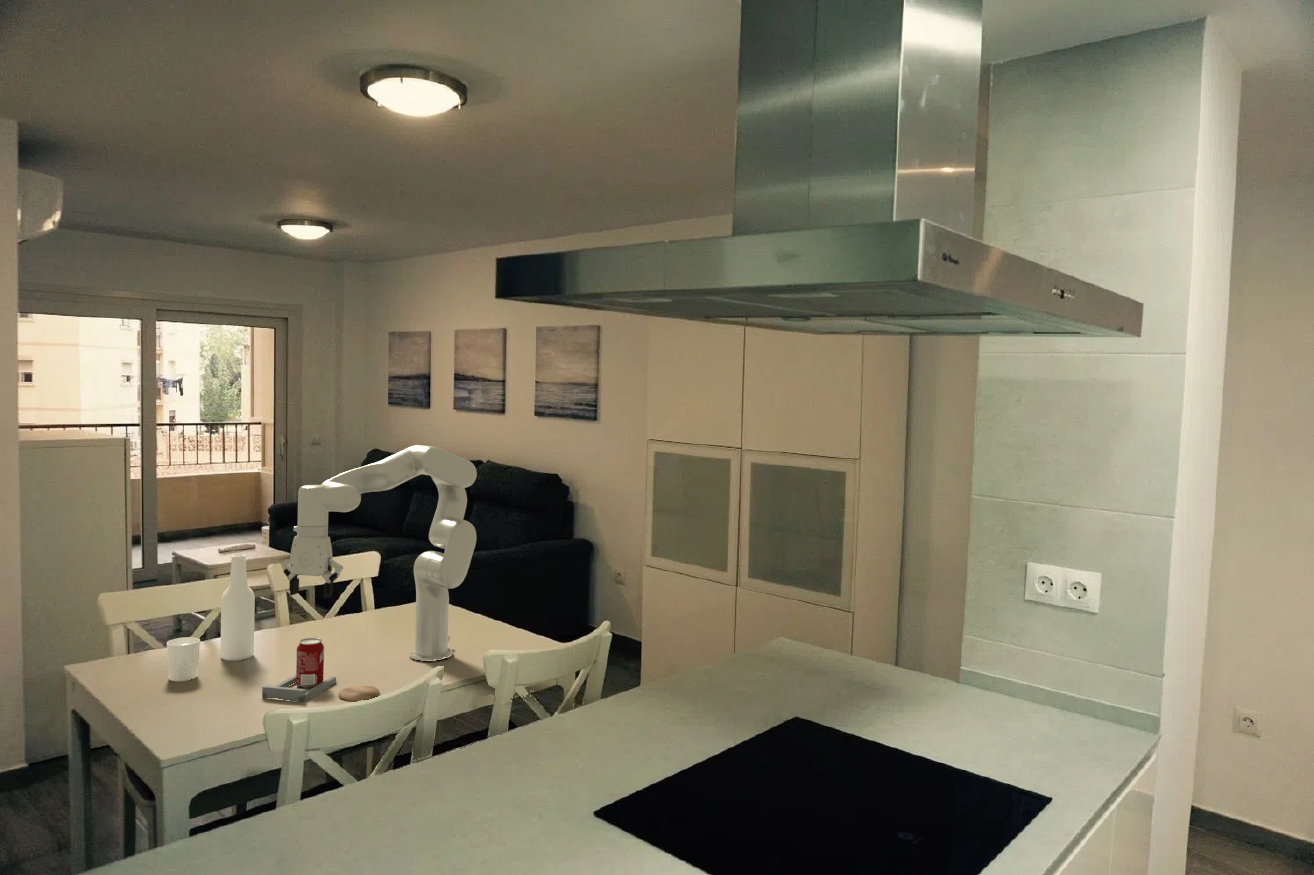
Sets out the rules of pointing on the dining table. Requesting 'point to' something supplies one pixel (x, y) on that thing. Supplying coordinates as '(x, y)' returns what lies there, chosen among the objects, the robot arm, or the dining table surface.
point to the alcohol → (237, 614)
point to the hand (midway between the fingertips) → (311, 595)
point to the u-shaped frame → (294, 690)
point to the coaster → (358, 693)
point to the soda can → (310, 662)
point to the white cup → (183, 658)
